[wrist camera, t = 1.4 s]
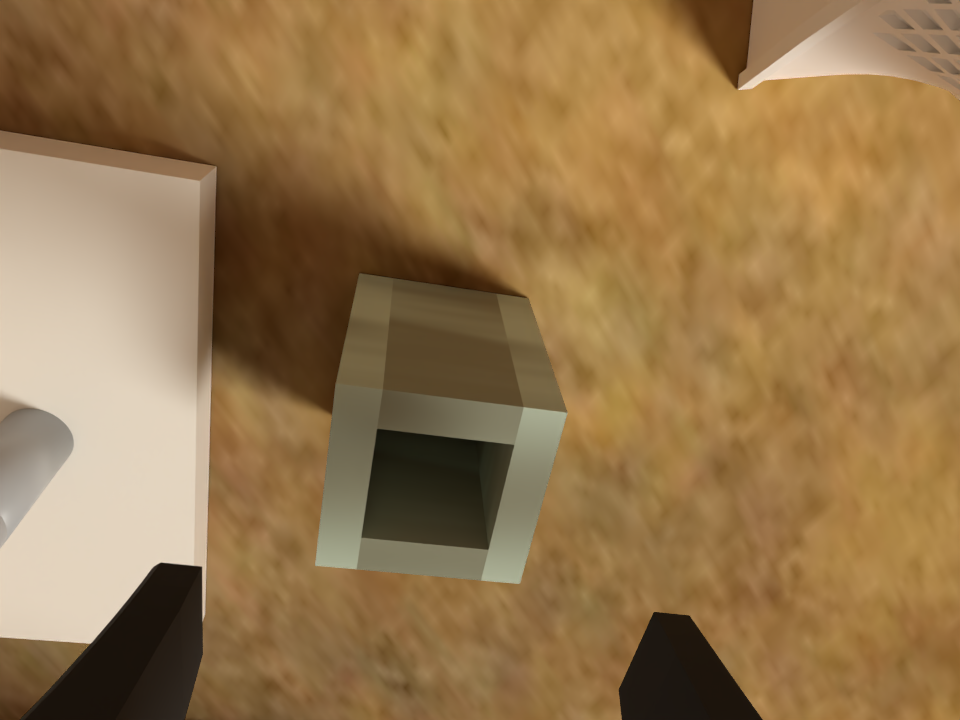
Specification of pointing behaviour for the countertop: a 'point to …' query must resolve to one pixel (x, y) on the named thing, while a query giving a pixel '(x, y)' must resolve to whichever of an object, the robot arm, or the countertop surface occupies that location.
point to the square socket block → (438, 433)
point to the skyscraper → (855, 40)
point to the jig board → (100, 378)
